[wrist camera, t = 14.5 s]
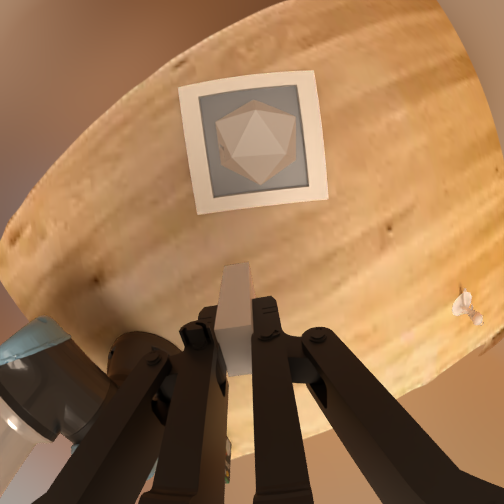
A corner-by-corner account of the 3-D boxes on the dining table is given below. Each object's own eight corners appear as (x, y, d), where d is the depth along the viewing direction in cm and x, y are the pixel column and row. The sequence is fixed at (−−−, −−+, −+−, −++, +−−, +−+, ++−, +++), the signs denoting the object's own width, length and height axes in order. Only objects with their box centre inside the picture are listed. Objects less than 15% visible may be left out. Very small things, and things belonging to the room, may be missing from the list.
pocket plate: (200, 211, 36) (197, 214, 34) (181, 90, 30) (178, 87, 28) (324, 196, 35) (328, 199, 33) (310, 74, 30) (313, 70, 28)
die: (243, 94, 30) (190, 115, 24) (311, 98, 27) (271, 119, 21) (248, 153, 36) (202, 187, 30) (311, 165, 32) (274, 204, 26)
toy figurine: (453, 320, 43) (472, 342, 36) (448, 290, 41) (470, 312, 34) (472, 306, 42) (492, 326, 35) (469, 275, 40) (492, 294, 33)
